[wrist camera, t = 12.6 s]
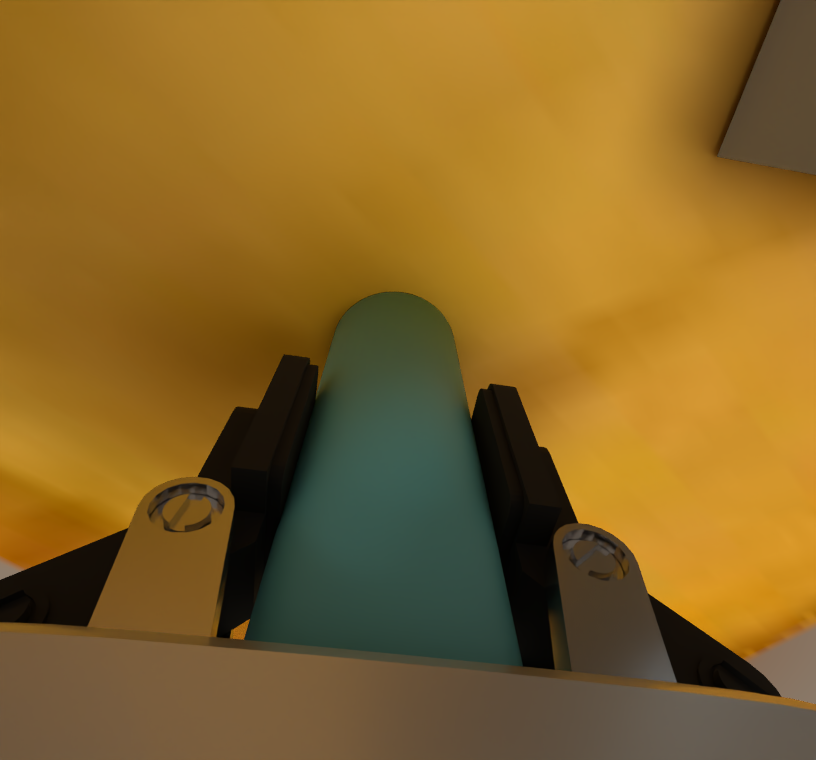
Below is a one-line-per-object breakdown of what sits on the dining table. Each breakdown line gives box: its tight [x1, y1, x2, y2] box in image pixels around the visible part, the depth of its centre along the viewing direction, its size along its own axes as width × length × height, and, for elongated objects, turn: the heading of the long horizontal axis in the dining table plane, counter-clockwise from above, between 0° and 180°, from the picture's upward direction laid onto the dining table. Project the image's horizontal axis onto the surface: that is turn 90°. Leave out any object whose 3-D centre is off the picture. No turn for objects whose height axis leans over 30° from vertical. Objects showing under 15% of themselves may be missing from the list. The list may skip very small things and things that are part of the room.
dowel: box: [244, 292, 523, 667], centre depth 10 cm, size 4×4×12 cm
